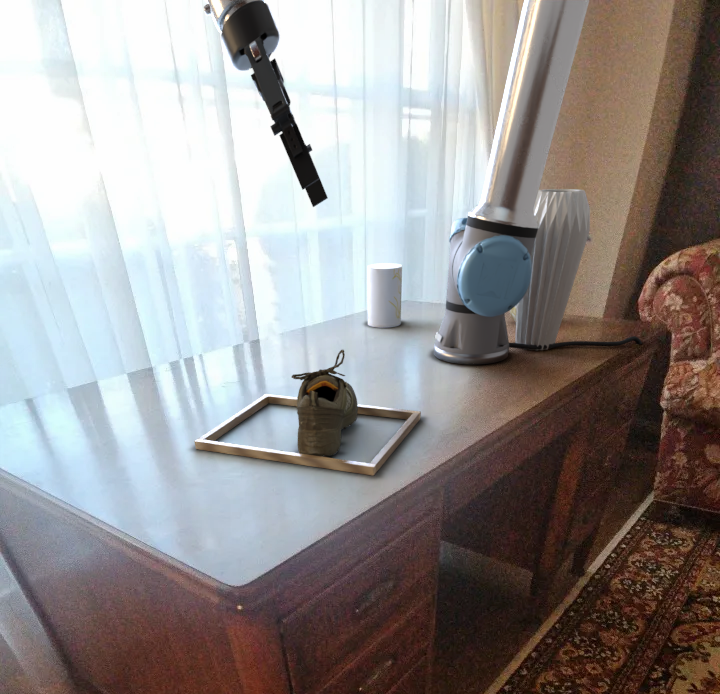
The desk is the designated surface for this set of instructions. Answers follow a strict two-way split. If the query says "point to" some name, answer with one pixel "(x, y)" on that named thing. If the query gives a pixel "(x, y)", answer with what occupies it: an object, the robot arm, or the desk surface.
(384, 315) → the cup
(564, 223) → the vase
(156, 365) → the desk surface
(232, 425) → the wooden frame
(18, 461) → the desk surface
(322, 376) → the hiking shoe
